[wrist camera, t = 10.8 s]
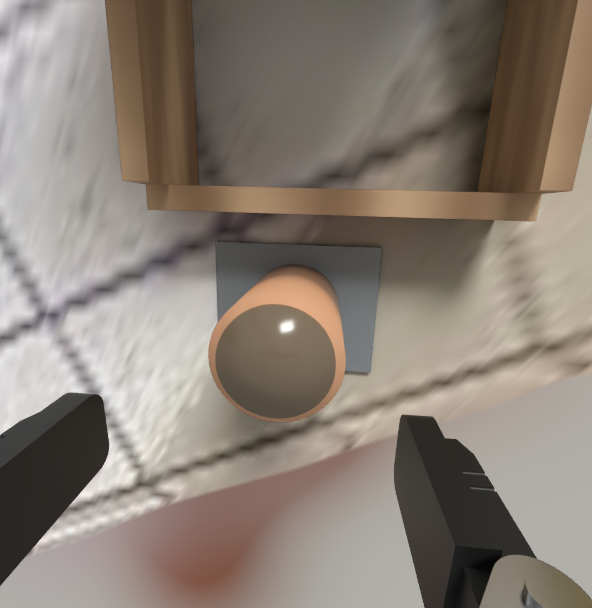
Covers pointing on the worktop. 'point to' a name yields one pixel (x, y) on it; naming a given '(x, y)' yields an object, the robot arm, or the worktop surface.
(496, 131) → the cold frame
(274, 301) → the tan cylinder
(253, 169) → the worktop surface
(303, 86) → the worktop surface
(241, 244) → the mat
